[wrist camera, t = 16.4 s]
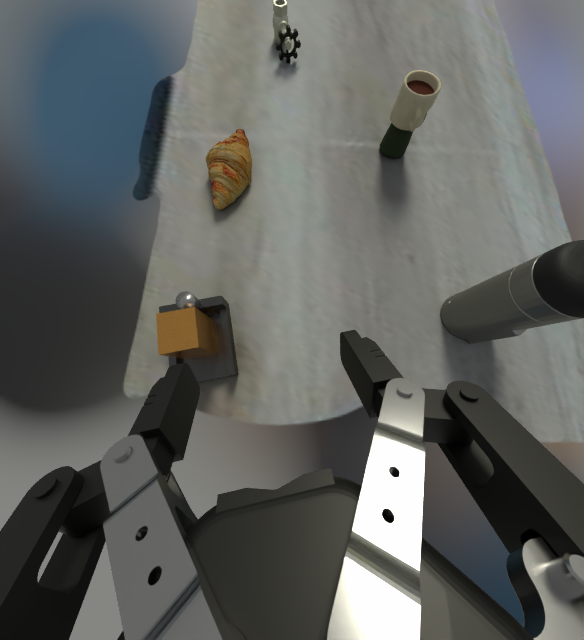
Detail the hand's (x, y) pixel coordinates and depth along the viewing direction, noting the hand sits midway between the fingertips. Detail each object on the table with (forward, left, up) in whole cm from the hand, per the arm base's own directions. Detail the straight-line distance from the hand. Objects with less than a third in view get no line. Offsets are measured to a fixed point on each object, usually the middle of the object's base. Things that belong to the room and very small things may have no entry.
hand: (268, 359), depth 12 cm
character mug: (+27, -52, -31) cm, 67 cm away
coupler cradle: (+13, +9, -31) cm, 34 cm away
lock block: (+13, +9, -29) cm, 33 cm away
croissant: (+43, -16, -31) cm, 55 cm away
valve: (+71, -52, -31) cm, 94 cm away
